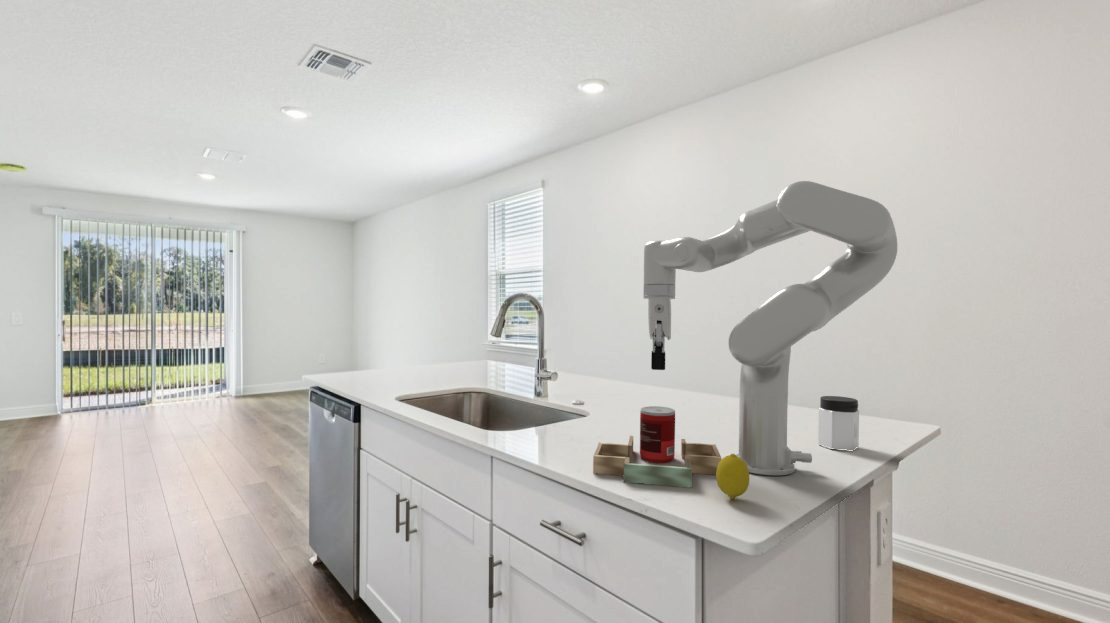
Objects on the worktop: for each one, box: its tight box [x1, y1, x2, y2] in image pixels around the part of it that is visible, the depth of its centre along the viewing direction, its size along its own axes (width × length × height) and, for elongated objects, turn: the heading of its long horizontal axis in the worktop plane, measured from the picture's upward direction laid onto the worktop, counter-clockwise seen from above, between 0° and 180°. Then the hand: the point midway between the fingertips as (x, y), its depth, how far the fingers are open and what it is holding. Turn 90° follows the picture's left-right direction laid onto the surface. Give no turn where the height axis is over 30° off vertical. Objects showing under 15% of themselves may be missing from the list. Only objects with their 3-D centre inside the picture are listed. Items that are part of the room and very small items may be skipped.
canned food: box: [639, 405, 676, 464], centre depth 114 cm, size 8×8×11 cm
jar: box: [817, 395, 860, 451], centre depth 126 cm, size 9×8×12 cm
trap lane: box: [592, 435, 722, 489], centre depth 108 cm, size 25×23×4 cm
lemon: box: [715, 453, 750, 500], centre depth 90 cm, size 6×6×8 cm
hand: (658, 367), depth 123 cm, fingers open, 4 cm apart
